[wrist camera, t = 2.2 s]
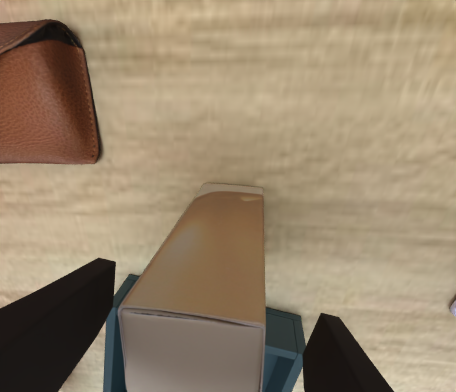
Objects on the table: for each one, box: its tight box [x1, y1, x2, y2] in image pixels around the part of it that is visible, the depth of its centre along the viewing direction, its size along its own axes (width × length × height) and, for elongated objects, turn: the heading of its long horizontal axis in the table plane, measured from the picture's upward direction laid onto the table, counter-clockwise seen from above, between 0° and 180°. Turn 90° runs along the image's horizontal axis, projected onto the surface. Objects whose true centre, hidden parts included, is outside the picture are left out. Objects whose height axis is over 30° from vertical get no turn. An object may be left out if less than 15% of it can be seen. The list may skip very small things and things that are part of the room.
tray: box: [103, 274, 306, 392], centre depth 23 cm, size 14×14×4 cm
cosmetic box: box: [118, 183, 266, 392], centre depth 14 cm, size 6×4×12 cm
